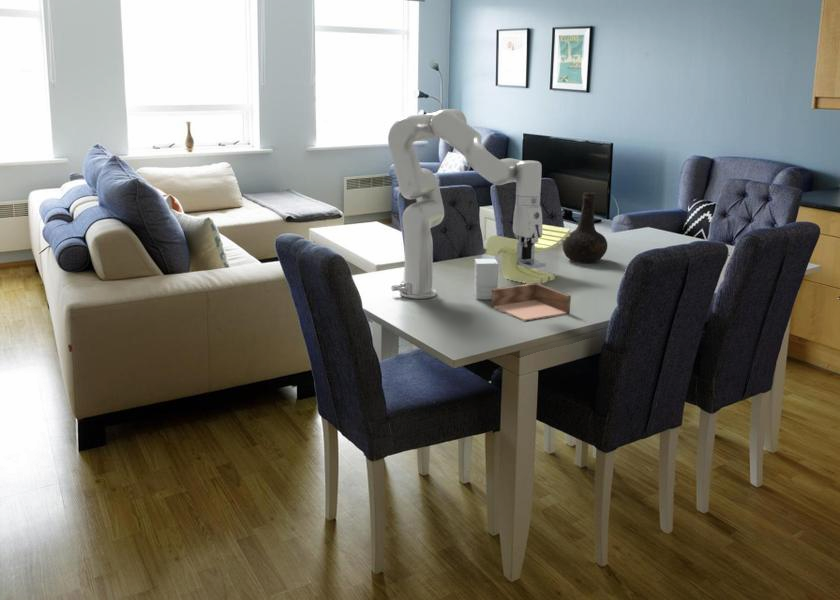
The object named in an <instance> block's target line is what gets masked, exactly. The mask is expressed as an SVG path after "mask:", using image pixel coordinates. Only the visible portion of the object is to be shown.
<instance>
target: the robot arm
mask: <svg viewBox="0 0 840 600" xmlns="http://www.w3.org/2000/svg"><path fill="white" fill-rule="evenodd" d="M387 137H388V138H387V142H388V147H389V151H390V155H391V158H392V162H393V166H394V172H395V176H396V181H397V185H398V189H399V192H400V194H401V196H403V198H405V199H406V200H416V202H415V203H411V204H409V206H406V208H405V209H404V212H403V214H402V219H401V220H402V221H401V222H402V228H403V235H404V237H403V238H404V280H402V281H401V283H400V284H394V285H391V291H392V292H397V291H398V292H399V295H400V296H401V297H405V298H408V299H417V300H418V299H419V300H420V299H429V298H433V297H435V296H437V289H435V288H433V261H434V260H433V258H434V257H433V255H434V249H433V248H434V247H433V245H434V244H433V236H432V231H431V229H433V228H434V227H436V226H438V225H440V224H442V221H444V218H445V207H444V202H443V198H442V193H441V190H440V185H439V182H438V178H437V175H435V174H434V172H433V171H432V170H430V169H429V168H425V167H421V164H420V159H419V155H418V152H417V151H416V149H415V147H414V145H413V144H414V143H415V142H423V141H428V140H434V139H442V141H444V142H445V143H447V144H449V146H450V147H452V148H454V149H455V150H456V151H457V152H459V154H461V155H462V156H463V157H464V159H465V160H466V161H467V164H469V166H470V167H471V169H473V171H475V172H476V173H477V174H478V175H479V176H481V177H482V178H484V180H486V181H488V182H489V183H490V184H493V185H495V186H496V185H497V186H500V185H501V186H502V185H505V184H509V183H515V182H516V187H515V189H516V190H515V205H514V206H515V207H514V211H513V216H512V217H513V219H512V233H513V234H514V237H515V239H518V241H519V242H524V247H523V252H522V259H523V260H525V259H531V251H532V247H533V244H534V243H538V238H540V237H542V225H543V212H542V206H541V190H542V189H541V188H542V174H543V173H542V167H543V166H542V163H541V162H540V161H538V160H529V159H528V160H522V159H516V158H512V157H510V158H509V157H508V158H501V159H499V158H498V157H496V156H495V155H494V154H492V153H491V152H489V150H487V148H485V146H484V145H483V143H482V135H481V133H480V132H479V131H477V130H476V129H474V128H473V127H472V126H470V125H469V124H468V121H467V117H466V116H465V114H464V113H463V112H462V111H461V110H459V109H457V108H446V109H440V110H438V111H436V112H431V113H425V114H414V115H413V114H411V115H406V116H403V117H401V118H399V119H398V120H396V121H395V122H394V123H393V124H392V125H391V127H390V129H389V132H388V136H387Z"/></svg>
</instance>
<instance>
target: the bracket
mask: <svg viewBox="0 0 840 600" xmlns="http://www.w3.org/2000/svg"><path fill="white" fill-rule="evenodd" d="M523 247H524V242H518V243H517V264H518V265H520V266H523V267H526V268H529V269H533V268H534V269H538V268H539V269H540V268H545V267H547V266H546V265H547V264H546V263H545V262H543V261H539V260H536V259H535V253H536V252H535V243H534V244H533V247H532V251H531V259H525V260H523V259H522V252H523Z"/></svg>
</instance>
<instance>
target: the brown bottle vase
mask: <svg viewBox="0 0 840 600" xmlns="http://www.w3.org/2000/svg"><path fill="white" fill-rule="evenodd" d="M595 200H597V197H596V193H595V192H591V191H587V192H583V195H582V206H581V213H580V218H579V222H578V224H577V227H576V228H575V230H573V231H570V236H569V237H566V240H562V243H561V244H562V251H563V253H564V255H565V256H566V258H568V259H569V260H570V261H572V262H575V263H580V264H581V263H582V264H593V263H597V262H598V261H599V260H601V259H602V258H603V257H604V256H605V254H606V253H607V251H608V241H607V238H606V237H605V236H604V235H603V234H601V233H600V232H599V231H597V230H596V227H595Z"/></svg>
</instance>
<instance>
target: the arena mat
mask: <svg viewBox="0 0 840 600" xmlns="http://www.w3.org/2000/svg"><path fill="white" fill-rule="evenodd" d="M493 307H494V308H493ZM491 308H493V309H495V308H496V310H497V309H499V310H498V311H500V310H501V311H500V312H502V311H503V312H502V313H504V312H505V313H504V314H506V313H507V315H508V314H510V315H509V316H511V315H512V316H511V317H513V316H514V317H513V318H515V317H516V319H517V318H519V319H518V320H520V319H521V320H520V321H522V320H523V321H522V322H528V321H527V320H530V321H534V320H533V319H536V320H541V319H546V317H547V318H553V317H557V316H558V317H559V316H563V315H564V316H566V315H567V314H566V312H563V311H561V310H558V309H556V308H554V307H551V306H549V305H546V304H544V303H541V302H539V301H536V300H530V301H524V302H517V303H511V304H504V305H498V306H492V307H491ZM540 318H541V319H540Z"/></svg>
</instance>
